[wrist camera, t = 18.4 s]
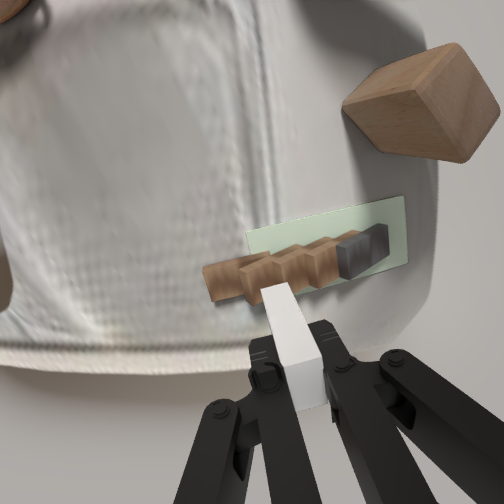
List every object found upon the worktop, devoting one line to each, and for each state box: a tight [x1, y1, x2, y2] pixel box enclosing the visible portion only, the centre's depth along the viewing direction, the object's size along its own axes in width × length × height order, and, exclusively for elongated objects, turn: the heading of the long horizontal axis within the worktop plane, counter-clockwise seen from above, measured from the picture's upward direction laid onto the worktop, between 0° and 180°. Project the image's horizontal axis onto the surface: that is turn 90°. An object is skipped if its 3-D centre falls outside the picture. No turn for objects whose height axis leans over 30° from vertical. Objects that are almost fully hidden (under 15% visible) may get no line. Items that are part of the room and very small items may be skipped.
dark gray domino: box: [335, 223, 390, 281], centre depth 45 cm, size 5×2×10 cm
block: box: [341, 43, 500, 164], centre depth 32 cm, size 10×10×20 cm
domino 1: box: [238, 244, 303, 306], centre depth 45 cm, size 5×2×10 cm
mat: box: [245, 195, 408, 304], centre depth 48 cm, size 12×26×1 cm, turn 103°
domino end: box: [202, 251, 271, 302], centre depth 47 cm, size 5×2×10 cm
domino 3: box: [304, 230, 361, 289], centre depth 45 cm, size 5×2×10 cm
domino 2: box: [272, 237, 334, 294], centre depth 45 cm, size 5×2×10 cm
